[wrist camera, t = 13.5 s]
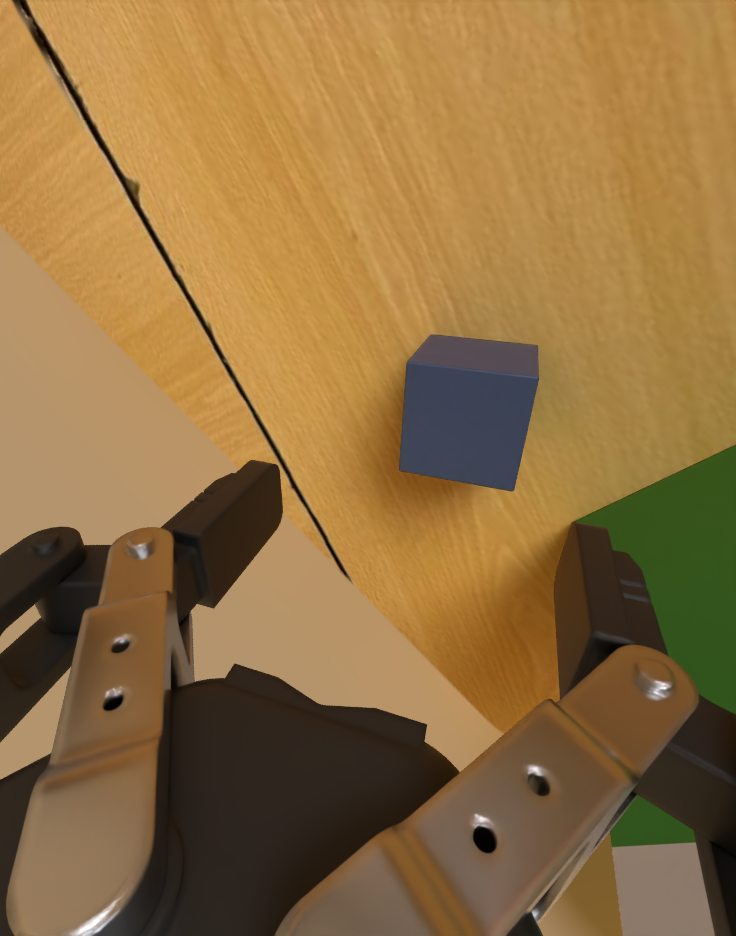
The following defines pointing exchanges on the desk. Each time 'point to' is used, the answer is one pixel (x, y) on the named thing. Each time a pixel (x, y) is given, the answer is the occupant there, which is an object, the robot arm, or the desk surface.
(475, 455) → the cube
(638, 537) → the hardback book
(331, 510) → the desk surface
